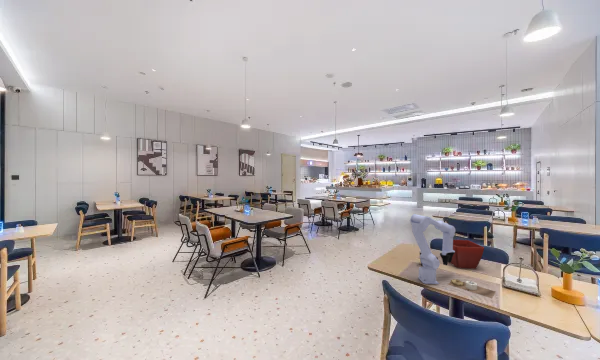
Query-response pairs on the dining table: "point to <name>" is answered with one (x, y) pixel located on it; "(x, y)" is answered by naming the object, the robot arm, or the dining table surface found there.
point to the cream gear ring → (471, 285)
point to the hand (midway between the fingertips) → (447, 263)
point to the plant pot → (466, 254)
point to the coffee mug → (420, 259)
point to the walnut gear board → (479, 290)
